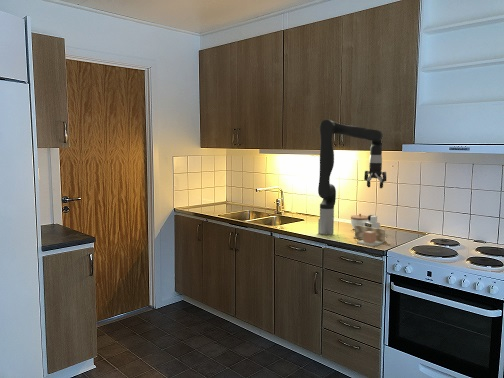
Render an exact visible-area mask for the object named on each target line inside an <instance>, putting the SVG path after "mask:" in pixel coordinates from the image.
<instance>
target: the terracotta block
mask: <svg viewBox="0 0 504 378" xmlns="http://www.w3.org/2000/svg"><path fill="white" fill-rule="evenodd" d="M375 237H376V232H372V231H366V232H364V242H367V243H373V242H375Z"/></svg>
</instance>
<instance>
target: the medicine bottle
mask: <svg viewBox="0 0 504 378" xmlns="http://www.w3.org/2000/svg"><path fill="white" fill-rule="evenodd" d="M367 216H368V222H365V226H366V227H373V228H379V229H381V227H380V226H381V224H380V222H378V216H377V215H375V214H369V215H367Z"/></svg>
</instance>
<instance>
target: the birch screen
mask: <svg viewBox="0 0 504 378" xmlns="http://www.w3.org/2000/svg"><path fill="white" fill-rule="evenodd" d="M366 231H372V232H376V237H375V241H379V242H382V244H385V243H387V240H386V229H384V228H380V229H379V228H373V227H366V226H360V225H355V229H354V236H353V239H357V240H360V241H361V240H364V232H366Z"/></svg>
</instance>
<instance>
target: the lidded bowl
mask: <svg viewBox="0 0 504 378" xmlns="http://www.w3.org/2000/svg"><path fill="white" fill-rule="evenodd" d="M368 216H369V215H362V213H359V214H356V215H354V214H353V215H351V216H350V224H351V227H352V228H353V229H354V230H355V225H360V226H365V222H368Z"/></svg>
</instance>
